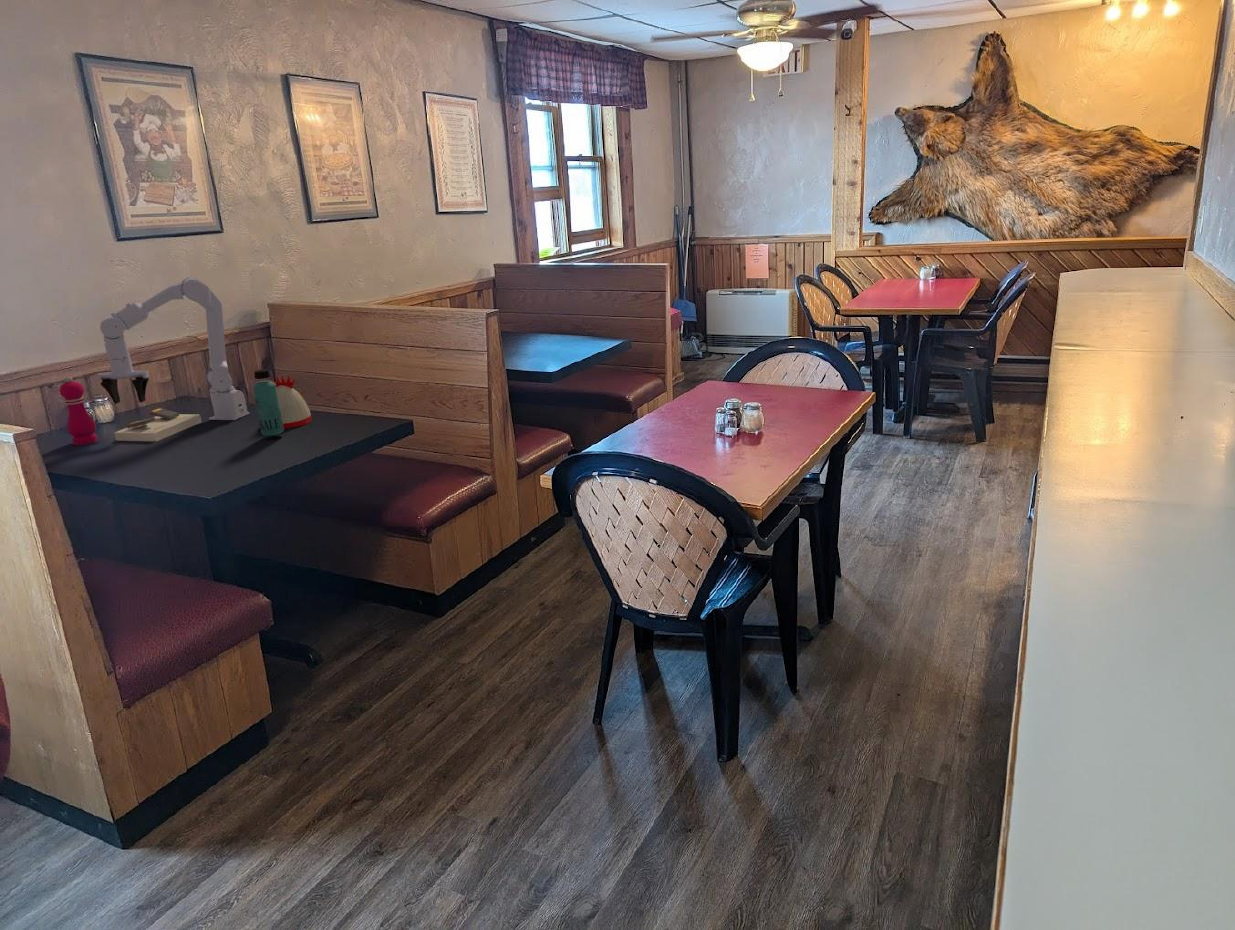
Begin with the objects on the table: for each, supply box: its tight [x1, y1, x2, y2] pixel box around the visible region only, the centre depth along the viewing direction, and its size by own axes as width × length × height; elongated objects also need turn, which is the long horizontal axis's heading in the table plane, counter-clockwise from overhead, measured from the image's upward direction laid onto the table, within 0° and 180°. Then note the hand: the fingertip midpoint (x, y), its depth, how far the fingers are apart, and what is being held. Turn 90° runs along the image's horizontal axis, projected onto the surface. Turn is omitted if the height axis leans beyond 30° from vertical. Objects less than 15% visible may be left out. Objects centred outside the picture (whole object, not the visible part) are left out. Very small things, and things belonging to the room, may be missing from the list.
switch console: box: [114, 413, 202, 442], centre depth 261 cm, size 14×20×3 cm
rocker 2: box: [149, 407, 180, 419], centre depth 265 cm, size 7×4×1 cm, turn 78°
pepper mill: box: [59, 376, 98, 446], centre depth 251 cm, size 7×7×20 cm
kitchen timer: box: [270, 374, 312, 430], centre depth 261 cm, size 14×14×15 cm
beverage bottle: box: [252, 368, 285, 436], centre depth 245 cm, size 6×7×20 cm
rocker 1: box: [126, 416, 155, 428], centre depth 256 cm, size 7×4×1 cm, turn 77°
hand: (129, 402), depth 258 cm, fingers open, 7 cm apart
